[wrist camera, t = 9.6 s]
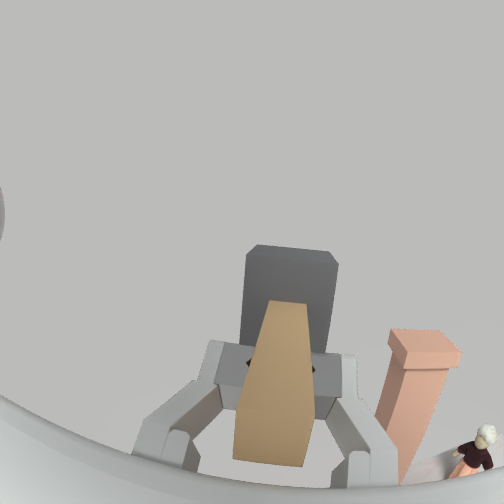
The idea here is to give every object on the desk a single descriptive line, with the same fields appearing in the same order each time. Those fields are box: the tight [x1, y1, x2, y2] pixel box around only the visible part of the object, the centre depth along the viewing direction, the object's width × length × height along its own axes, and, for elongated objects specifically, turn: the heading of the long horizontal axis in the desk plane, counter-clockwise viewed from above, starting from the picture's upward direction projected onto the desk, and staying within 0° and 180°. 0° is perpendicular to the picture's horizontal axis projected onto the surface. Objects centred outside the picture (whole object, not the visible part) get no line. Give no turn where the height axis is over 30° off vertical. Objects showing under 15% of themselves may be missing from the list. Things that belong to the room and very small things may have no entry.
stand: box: [375, 329, 462, 486], centre depth 25 cm, size 5×5×26 cm
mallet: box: [233, 245, 339, 467], centre depth 13 cm, size 4×13×6 cm, turn 172°
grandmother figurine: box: [448, 424, 497, 479], centre depth 27 cm, size 8×4×13 cm, turn 31°
